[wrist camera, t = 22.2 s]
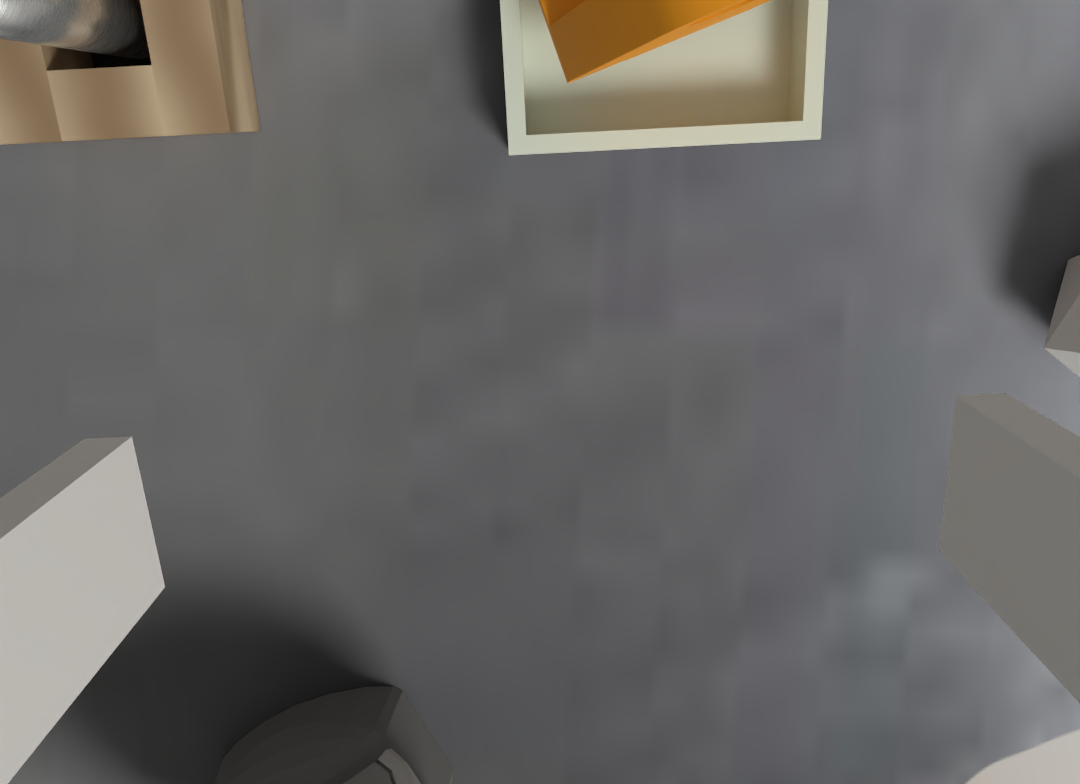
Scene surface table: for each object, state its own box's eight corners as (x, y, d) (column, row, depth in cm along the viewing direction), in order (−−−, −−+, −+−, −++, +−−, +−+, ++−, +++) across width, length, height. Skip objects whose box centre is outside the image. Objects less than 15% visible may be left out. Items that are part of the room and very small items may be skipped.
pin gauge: (105, 60, 38) (-105, 32, 26) (89, -17, 37) (-137, -85, 25) (174, 57, 38) (-3, 27, 26) (160, -21, 37) (-30, -91, 25)
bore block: (49, 142, 39) (-4, 144, 35) (-5, -99, 36) (-69, -124, 32) (260, 131, 39) (229, 132, 35) (224, -112, 36) (187, -139, 32)
